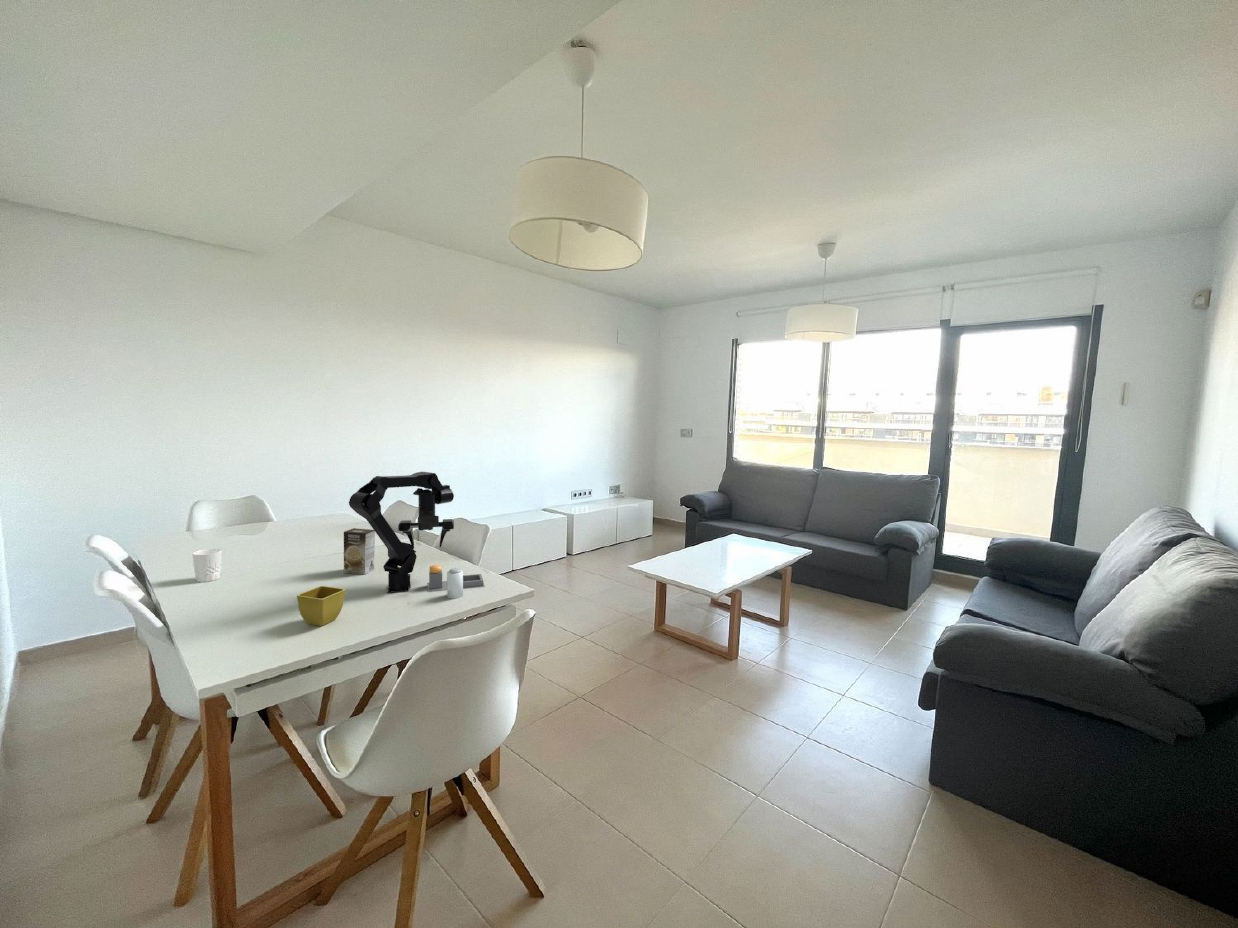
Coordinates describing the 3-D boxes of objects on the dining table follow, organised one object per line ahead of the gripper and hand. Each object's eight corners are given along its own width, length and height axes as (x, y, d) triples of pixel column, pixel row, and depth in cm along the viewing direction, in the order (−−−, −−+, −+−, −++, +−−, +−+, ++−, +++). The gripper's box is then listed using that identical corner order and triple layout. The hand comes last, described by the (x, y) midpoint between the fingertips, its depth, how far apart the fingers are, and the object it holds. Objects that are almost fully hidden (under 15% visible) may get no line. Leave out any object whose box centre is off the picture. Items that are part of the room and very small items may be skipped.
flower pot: (346, 618, 142) (346, 588, 141) (322, 630, 133) (321, 598, 132) (321, 614, 144) (321, 585, 143) (296, 626, 135) (295, 595, 134)
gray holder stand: (427, 594, 163) (427, 577, 162) (427, 584, 172) (427, 568, 172) (484, 588, 170) (485, 572, 169) (482, 580, 179) (482, 564, 179)
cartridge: (447, 594, 162) (446, 568, 161) (462, 592, 164) (462, 567, 163) (447, 599, 157) (447, 573, 156) (463, 597, 159) (463, 571, 158)
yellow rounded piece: (429, 585, 166) (429, 568, 165) (429, 582, 169) (429, 565, 169) (441, 584, 167) (441, 567, 167) (441, 581, 171) (441, 564, 170)
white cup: (226, 578, 171) (225, 551, 170) (198, 584, 165) (197, 556, 164) (217, 574, 176) (216, 547, 175) (190, 579, 169) (189, 552, 168)
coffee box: (342, 573, 182) (342, 531, 180) (353, 568, 188) (353, 527, 187) (365, 574, 181) (365, 532, 179) (375, 569, 187) (375, 529, 186)
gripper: (396, 510, 165) (396, 555, 166) (453, 509, 170) (453, 552, 172) (400, 505, 175) (400, 546, 176) (453, 504, 181) (453, 544, 182)
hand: (426, 547), depth 176 cm, fingers open, 9 cm apart
